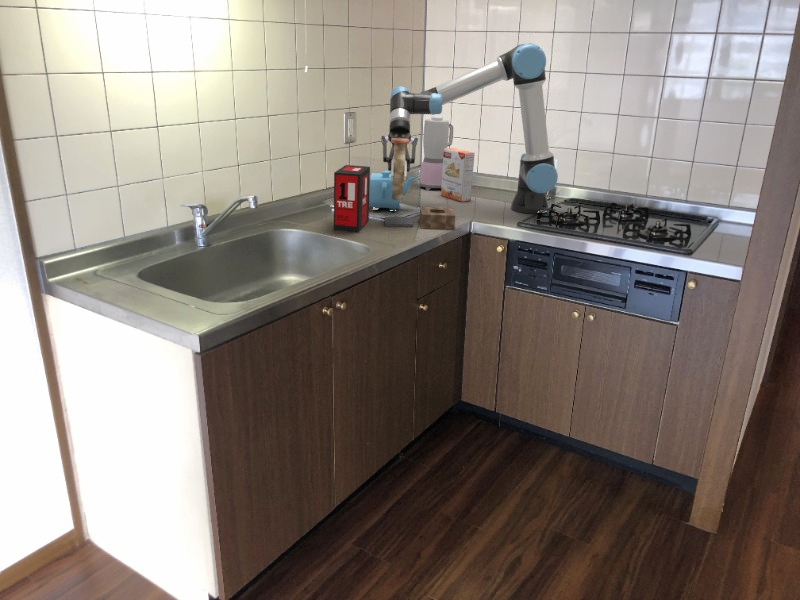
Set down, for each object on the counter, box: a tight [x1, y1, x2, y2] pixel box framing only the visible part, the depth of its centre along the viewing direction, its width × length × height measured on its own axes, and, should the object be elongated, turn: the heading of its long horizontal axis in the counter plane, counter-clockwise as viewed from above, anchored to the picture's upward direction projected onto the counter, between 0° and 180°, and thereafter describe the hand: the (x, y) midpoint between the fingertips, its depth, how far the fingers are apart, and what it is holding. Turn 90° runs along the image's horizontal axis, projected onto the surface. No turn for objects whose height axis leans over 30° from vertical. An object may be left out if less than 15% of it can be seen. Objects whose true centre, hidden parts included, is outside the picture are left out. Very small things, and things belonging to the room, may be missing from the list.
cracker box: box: [440, 147, 476, 203], centre depth 281 cm, size 14×6×21 cm, turn 36°
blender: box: [419, 116, 454, 191], centre depth 299 cm, size 16×12×32 cm
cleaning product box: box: [333, 164, 371, 233], centre depth 230 cm, size 16×9×20 cm, turn 171°
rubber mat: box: [384, 216, 414, 228], centre depth 240 cm, size 10×10×1 cm
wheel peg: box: [390, 138, 410, 201], centre depth 233 cm, size 6×6×21 cm
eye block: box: [419, 206, 456, 230], centre depth 240 cm, size 12×12×5 cm
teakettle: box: [369, 169, 417, 211], centre depth 259 cm, size 19×19×15 cm
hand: (398, 177), depth 230 cm, fingers closed on wheel peg, 4 cm apart
